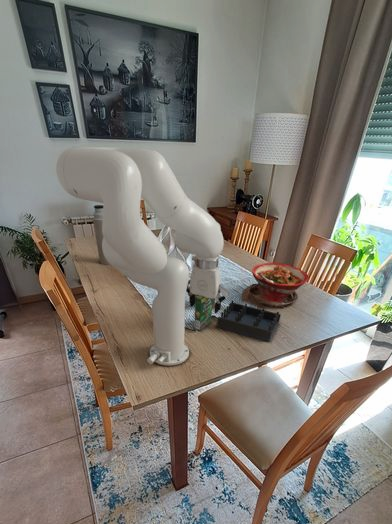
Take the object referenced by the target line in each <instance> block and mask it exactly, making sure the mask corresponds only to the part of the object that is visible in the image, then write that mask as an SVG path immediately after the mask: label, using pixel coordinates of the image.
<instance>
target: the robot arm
mask: <svg viewBox="0 0 392 524" xmlns="http://www.w3.org/2000/svg"><path fill="white" fill-rule="evenodd" d="M55 165H56V166H55V170H56V176H57V180H58V182H59V184H60V185H61V187H62V188H63V190H64V191H66V193H67V194H69V195H70V196H72V197H74V198H76V199H80V200H84V201H90V202H95V203H98V204H99V203H100V204H103V224H102V232H103V236H104V238H103V241H102V250H103V254H104V256H105V258H106V260H107V261H108V263H109V264H108V265H110V266H111V267H113V268H114V269H115V270H117V271H118V272H119V273H120V274H122V275H123V276H124V277H126V278H127V279H129V280H130V281H132V282H133V283H135V284H137V285H141V286H144V287H147V288H151V289H153V290H156V292H157V295H156V296H155V297H154V299H153V300H152V303H151V313H152V314H151V316H152V333H153V345H152V346H151V347H150V349H149V357H148V358H147V359H146V361H147V363H148V364H150V365H152V364H154V363H156V364H157V365H161V366H165V367H166V366H167V367H168V366H177V365H180V364H182V363H183V362H185V361H187V359H188V358H189V355H190V350H189V346H187V345H186V343H185V331H186V330H185V327H186V324H185V323H186V322H185V321H186V295H187V297H189V307H191V308H193V306H195V298H196V295H199V296H203V297H207V298H211V299H215V305H214V312H213V313H214V314H218V313H219V311H221V309H222V302H224V301H226V299H227V297H228V296H229V295H230V290H228V289H227V288H225V287H224V286H223V285H222V275H221V267H220V266H219V260H220V259H219V257H220V255H221V254H222V252H223V249H224V245H225V243H224V241H225V240H224V236H223V232H222V228H221V224H220V223H219V222H218V221H217V220H216V219H215V218H214V217H213V216H212V215H211V214H210V213H208V212H207V211H206V210H205V209H204V208H202V207H201V206H199V205H198V204H197V203H196V202H195V201H193V200H191V199H190V198H189V197H188V196H187V195H186V193H185V191H184V189H183V188H182V186H181V184H180V182H179V181H178V179H177V178H176V175H175V173H174V172H173V170H172V168H171V167H170V165H169V163H168V162H167V160H166V158H165V157H164V156H163V154H161V153H160V152H159V151H158V150H157V151H156V150H154V149H150V148H141V147H127V146H111V147H110V146H109V147H90V146H87V147H86V146H71V147H67V148H66V149H64V150H63V151H61V153H60V154H59V155H58V158H57V160H56V163H55ZM141 200H143V201H144V202H145V204H146V205H147V206H148V207H149V209H150V210H151V212H153V214H154V215H155V216H156V218H157V219H158V220H159V221H160V223H162V224H163V225H165V226H166V227H168V228H170V229H172V230H174V231H176V232H175V234H174V238H173V239H174V240H173V241H174V245H175V248H176V249H178V250H179V251H181V252H182V253H186V254H190V255H192V256H191V261H194V263H193V265H192V268H191V273H190V269H189V267H188V265H187V263H186V262H185V261H183V260H182V259H180V258H178V257H175V256H172V255H168V252H167V250H166V248H165V245H164V244H163V242H162V241H161V240H160V239H159V238H158V236H156V235H155V233H154V232H153V231H152V230H151V229H150V228H149V227H148V225H147V224H146V223H145V222H144V220H143V219H142V216H141ZM220 293H222V294H223V295H222V294H220Z"/></svg>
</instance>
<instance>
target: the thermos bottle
mask: <svg viewBox="0 0 392 524" xmlns="http://www.w3.org/2000/svg"><path fill="white" fill-rule="evenodd" d="M93 208H94V212H93V213H92V214H93V215H92V216H93V217H92V223H93V228H94V235H95V240H96V241H95V242H96V247H97V253H98V260H99V263H100V264H102V265H110V264H109V263H108V261H107V260H106V258H105V256H104V254H103V250H102V241H103V238H104V236H103V232H102V224H103V205H102V204H95V205H93Z"/></svg>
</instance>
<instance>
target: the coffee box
mask: <svg viewBox="0 0 392 524" xmlns="http://www.w3.org/2000/svg"><path fill="white" fill-rule="evenodd" d="M212 300H213V299H211V298H207V297H203V296H197V297H196V298H195V304H194V330H197V331H199V332H201V331H202V330H203V329H204V328H206V327H207V326H208V325H210V323H211V322H212V312H213V308H212Z"/></svg>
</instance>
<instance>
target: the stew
mask: <svg viewBox="0 0 392 524" xmlns="http://www.w3.org/2000/svg"><path fill="white" fill-rule="evenodd" d="M251 274H252V276H253V278H254V280H255V281H256V283H253V284H251V285H249V286H247V287H245V288H244V289H243V291H242V293H241V295H240V296H241V297H240V299H241V302H245V303H248V304H250V305H253V306H256V307H261V308H269V309H270V308H272V309H274V308H275V309H280V308H287V307H289V306H292V304H293V303H295V302H296V301H297V300H298V297H299V295H298V293H296V291H297V290H298V289H299V288H301V287H302V286H303V285H305V284H306V283H307V282H308V281H309V275H308V273H307V272H305V271H304V270H302V269H301V268H299V267H296V266H293V265H290V264H287V263H281V262H265V263H259V264H256V265H255V266H254V267H252V269H251ZM295 297H296V298H295ZM285 299H286V300H287V301H286V300H285ZM285 301H286V302H285Z"/></svg>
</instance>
